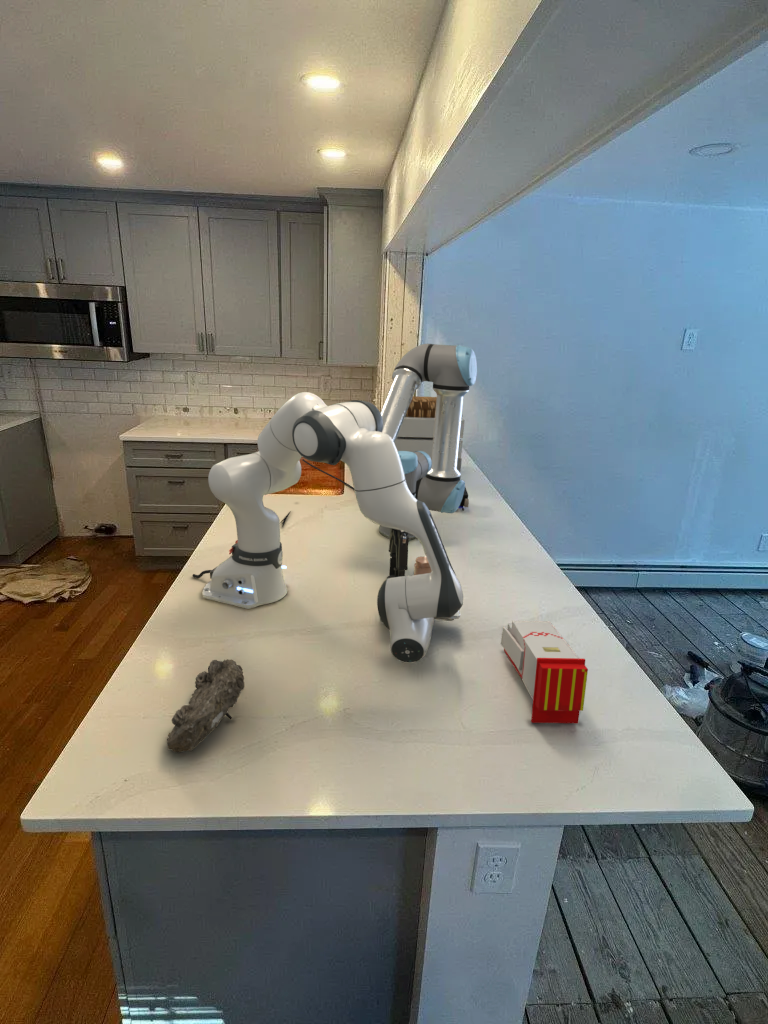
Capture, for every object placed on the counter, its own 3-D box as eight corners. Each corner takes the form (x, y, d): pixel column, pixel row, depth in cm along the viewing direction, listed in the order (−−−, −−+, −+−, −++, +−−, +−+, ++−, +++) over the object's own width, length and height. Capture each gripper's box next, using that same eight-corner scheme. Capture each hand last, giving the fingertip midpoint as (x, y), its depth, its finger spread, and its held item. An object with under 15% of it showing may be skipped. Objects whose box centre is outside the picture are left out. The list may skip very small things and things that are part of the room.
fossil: (192, 660, 117) (244, 628, 112) (224, 691, 120) (276, 661, 115) (142, 746, 98) (202, 712, 93) (182, 779, 101) (242, 748, 96)
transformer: (382, 463, 289) (386, 382, 275) (445, 464, 293) (451, 384, 279) (390, 482, 257) (394, 392, 243) (460, 483, 261) (468, 394, 247)
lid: (409, 585, 163) (409, 579, 163) (394, 590, 160) (395, 584, 159) (396, 578, 167) (397, 572, 167) (382, 583, 164) (382, 577, 163)
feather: (297, 505, 227) (300, 501, 226) (281, 528, 200) (284, 524, 199) (293, 503, 226) (296, 499, 226) (277, 526, 200) (279, 522, 199)
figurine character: (468, 516, 224) (463, 500, 237) (471, 498, 221) (465, 483, 234) (452, 515, 224) (447, 499, 237) (453, 498, 220) (449, 482, 234)
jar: (415, 617, 146) (418, 564, 141) (408, 608, 150) (412, 556, 145) (431, 615, 148) (435, 562, 143) (424, 606, 152) (428, 555, 147)
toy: (547, 606, 135) (596, 665, 106) (541, 658, 138) (589, 729, 108) (496, 604, 134) (532, 664, 105) (492, 657, 137) (526, 729, 108)
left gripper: (460, 608, 132) (462, 582, 145) (374, 598, 135) (384, 573, 148) (458, 631, 134) (460, 603, 147) (373, 621, 137) (383, 594, 150)
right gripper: (381, 497, 164) (377, 570, 171) (394, 520, 146) (389, 600, 153) (406, 497, 166) (401, 569, 173) (422, 519, 147) (416, 599, 154)
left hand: (421, 588), depth 148 cm, fingers closed on jar, 4 cm apart
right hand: (396, 583), depth 163 cm, fingers open, 7 cm apart
